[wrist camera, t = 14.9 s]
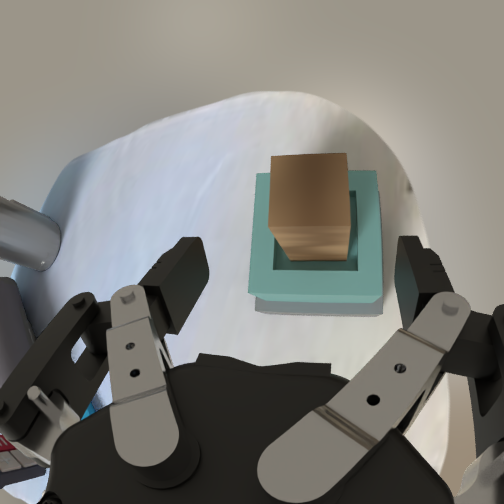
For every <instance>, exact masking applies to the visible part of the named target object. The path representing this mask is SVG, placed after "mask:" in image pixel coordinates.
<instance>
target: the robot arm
mask: <svg viewBox="0 0 504 504" xmlns="http://www.w3.org/2000/svg"><path fill="white" fill-rule="evenodd" d="M60 236H61V235H60V229H59V226H58V225H57V223H55V222H54V221H52V220H50V217H48V216H46V215H44V214H42V213H40V212H38V211H35V210H33V209H31V208H29V207H27V206H25V205H23V204H21V203H19V202H17V201H15V200H10V201H9V200H7V199H5V198H3V197H1V196H0V259H1V260H4V261H7V262H11V263H14V264H17V265H20V266H24V267H27V268H30V269H34V270H37V271H45V270H46V269H48V268H49V267H50V266H51V265H52V263H53V262H54V260H55V258H56V256H57V253H58V250H59V247H60ZM208 280H209V267H208V263H207V259H206V255H205V250H204V246H203V242H202V240H201V238H200V237H182V238H181V239H180V240H179V241H178V243H177V244H176V245H175V246H174V247H173V248H172V249H170V250H169V251H167V252H166V253H164V254H163V255H162V256H161V257H160V258H159V259H158V260H157V263H155V264H154V265H153V266H152V269H150V270H149V271H148V272H147V274H146V275H145V276H144V277H143V278H142V280H141V281H140V282H139V283H138V284H137V285H129V286H126V287H123V288H121V289H119V290H118V291H117V292H115V293H114V294H113V296H112V297H111V301H105V302H98V303H97V301H96V299H95V297H94V295H93V294H92V293H90V292H84V293H80V294H78V295H76V296H74V297H72V298H71V299H70V300H69V301H68V302H67V303H66V304H65V305H64V307H63V308H62V309H61V310H60V311H59V313H58V314H57V315H56V316H55V317H54V319H53V320H52V321H51V322H50V323H49V325H48V326H47V327H46V328H45V330H44V331H43V332H42V333H41V335H40V336H39V337H38V338H37V340H36V341H35V342H34V343H33V345H32V346H31V347H30V349H29V350H28V351H27V353H26V354H25V355H24V356H23V358H22V359H21V360H20V362H19V363H18V364H17V366H16V367H15V369H14V370H13V371H12V373H11V374H10V375H9V377H8V378H7V380H6V381H5V383H4V384H3V385H2V387H1V388H0V433H1V434H2V435H3V436H4V437H5V439H6V440H7V441H9V442H10V443H11V444H12V445H13V446H14V447H16V448H17V449H18V450H19V451H20V452H22V453H23V454H24V455H25V456H27V457H29V458H31V459H32V460H33V461H34V462H36V463H37V464H38V465H40V466H41V467H44V468H50V472H49V478H48V483H47V487H46V491H45V493H44V495H43V497H42V498H41V500H40V501H39V502H38V503H37V504H504V304H502V305H499V306H497V307H496V308H495V310H494V312H493V314H492V315H487V314H482V313H477V312H474V311H472V310H471V308H470V305H469V303H468V302H467V300H466V299H465V298H464V297H462V296H461V295H459V294H456V293H455V292H454V290H453V287H452V285H451V282H450V280H449V278H448V276H447V273H446V272H445V269H444V267H443V265H442V262H441V260H440V258H439V256H438V255H437V254H436V253H435V252H434V251H432V250H431V249H430V248H423V246H422V244H421V242H420V239H419V237H418V236H399V238H398V246H397V255H396V264H395V275H394V280H395V288H396V293H397V298H398V303H399V308H400V314H401V319H402V325H403V329H402V328H400V329H398V330H397V331H396V332H395V334H394V335H393V336H392V337H391V338H390V339H389V340H388V342H387V343H386V344H385V345H384V346H383V347H382V348H381V349H380V350H379V352H378V353H377V354H376V355H375V356H374V357H373V358H372V359H371V360H370V361H369V362H368V363H367V364H366V365H365V366H364V368H363V369H362V370H361V371H360V372H359V373H358V374H357V375H356V376H355V377H354V378H353V379H352V380H351V381H350V380H348V379H346V378H344V377H341V376H338V375H335V374H331V363H306V362H294V363H287V364H279V365H271V366H256V365H253V364H250V363H247V362H244V361H241V360H238V359H235V358H232V357H228V356H219V355H211V354H203V353H199V356H198V358H197V360H196V362H194V363H187V364H183V365H179V366H176V367H174V365H173V362H172V359H171V356H170V353H169V350H168V347H167V343H166V341H165V339H164V336H165V335H166V333H168V334H175V335H178V334H179V332H180V330H181V328H182V327H183V325H184V323H185V321H186V319H187V318H188V316H189V314H190V312H191V311H192V309H193V307H194V305H195V304H196V302H197V300H198V298H199V297H200V295H201V293H202V291H203V290H204V288H205V286H206V284H207V282H208ZM80 337H81V338H82V340H83V342H84V343H85V345H86V348H85V350H84V351H83V353H82V354H81V356H80V357H79V359H78V360H77V362H76V363H74V362H73V360H72V358H71V350H72V348H73V346H74V345H75V343H76V342H77V341H78V339H79V338H80ZM108 371H109V372H110V382H111V390H112V398H113V402H112V403H111V404H109V405H107V406H105V407H104V408H102V409H100V410H98V411H97V412H95V413H93V414H91V415H89V416H88V417H86V418H84V419H82V417H83V415H84V413H85V412H86V410H87V408H88V406H89V404H90V402H91V401H92V399H93V397H94V395H95V394H96V392H97V390H98V388H99V387H100V385H101V383H102V381H103V380H104V378H105V376H106V374H107V373H108ZM446 372H448V373H452V374H457V375H462V376H466V377H467V379H468V385H469V391H470V397H471V404H472V413H473V421H474V431H475V443H476V460H475V461H474V462H473V463H472V464H471V465H470V466H469V467H468V468H467V469H466V471H465V473H464V475H463V479H462V485H461V488H460V491H459V493H458V494H457V496H456V497H453V495H452V492H451V490H450V488H449V487H448V485H447V484H446V483H445V482H444V480H442V478H441V477H440V476H439V475H438V474H437V472H436V471H435V470H434V469H433V468H432V467H431V466H430V465H429V463H428V462H427V461H426V460H425V459H424V458H423V457H422V456H421V454H420V453H419V452H418V451H417V450H416V449H415V448H414V446H413V445H412V444H411V443H410V442H409V441H408V440H407V439H406V437H405V436H404V435H405V434H406V432H407V431H408V430H409V428H410V427H411V425H412V424H413V422H414V421H415V419H416V418H417V416H418V415H419V413H420V411H421V410H422V408H423V407H424V406H425V404H426V403H427V401H428V400H429V398H430V397H431V395H432V394H433V392H434V391H435V389H436V388H437V386H438V385H439V383H440V381H441V380H442V378H443V377H444V375H445V373H446ZM81 419H82V420H81Z"/></svg>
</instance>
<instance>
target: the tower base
mask: <svg viewBox="0 0 504 504" xmlns="http://www.w3.org/2000/svg"><path fill="white" fill-rule="evenodd" d="M348 181H349V198H350V221H351V227H350V237H349V245H348V254H347V261H290V259H289V258H288V256H287V255H286V253H285V252H284V250H283V249H282V247H281V246H280V244H279V243H278V241H277V240H276V238H275V237H274V235H273V234H272V232H271V231H270V229H269V228H268V214H269V193H270V173H259V174H257V175H256V189H255V203H254V216H253V230H252V244H251V258H250V272H249V286H248V293H249V294H252V295H254V296H256V301H255V311H258V312H261V313H265V314H282V315H309V316H360V317H376V316H379V315H382V314H383V245H382V224H381V208H380V195H379V191H378V184H377V174H376V171H348Z"/></svg>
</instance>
